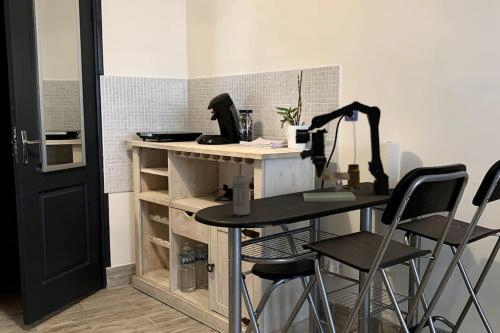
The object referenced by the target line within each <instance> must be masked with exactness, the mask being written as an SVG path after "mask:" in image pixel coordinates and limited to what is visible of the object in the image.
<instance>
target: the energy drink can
mask: <svg viewBox="0 0 500 333" xmlns="http://www.w3.org/2000/svg"><path fill="white" fill-rule="evenodd" d="M250 198H251V197H250V179H249V177H248V174H244V173H243V174H234V175H233V178H232V199H233V200H232V201H233V202H232V204H233V214H234V215H235V214H236V215H248V214H250V213H251V207H250V206H251V205H250V204H251V202H250ZM248 216H249V215H248Z"/></svg>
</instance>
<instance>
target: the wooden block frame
mask: <svg viewBox="0 0 500 333" xmlns="http://www.w3.org/2000/svg"><path fill="white" fill-rule="evenodd" d="M314 180H318V181H322V180H323V181H324V180H325V181H326V180H327V181H328V180H329V181H342V180H343V181H348V180H350V176H349V173H347V171H346V172H342V171H341V172H330V168H328V167H324V169H323V172H322V174H321V177H320V178H318V176H317V171H316V168H315V167H314Z"/></svg>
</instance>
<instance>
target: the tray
mask: <svg viewBox="0 0 500 333" xmlns="http://www.w3.org/2000/svg"><path fill="white" fill-rule="evenodd" d="M303 197H304V198H303V201H304V203H323V202H324V203H325V202H326V203H327V202H356V196H355V195H354V194H353V193H352V192H351V191H349V192H348V191H346V192H345V191H342V192H337V193H336V192H307V193H306V192H303Z"/></svg>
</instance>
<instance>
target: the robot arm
mask: <svg viewBox="0 0 500 333" xmlns="http://www.w3.org/2000/svg"><path fill="white" fill-rule="evenodd" d="M354 111H357V112H359V113H361V114H364V115H366V118H367V122H368V126H369V137H370V152H371V156H370V157H371V158H370V161H367V166H368V168H367V170H368V172H369V173H370V175H371V176H372V177H373V178H374V179H373V182H372V193H373V194H374V195H375V196H377V195H378V196H379V195H391V193H390V180H389V179H390V176H389V175H388V174H387V173H386V172H385V169H384V166H383V161H382V159H381V142H380V132H379V131H380V129H379V127H380V122H381V121H380V120H381V116H382V114H381V113H382V112H381V109H380V107H378V106H375V105H373V106H369V105H367V104H364V103H362V102H359V101H357V100H354V101H353V102H351V103H349V104H346V105H344V106H342V107H340V108H338V109H335V110H332V111H331V112H327V113H322V114H319V115H315V116H313V117H312V118H311V122H310V123H311V124H310V125H309V126H308V129H307V128H305V129H300V128H296V129H295V144H297V145H300V144H301V145H303V144H305V145H306V144H309V142H311V145H310V148H309V149H306V148H305V149H303V150H302V152H299V156H300V157H301V160H302V161H304V160H306V159H307V158H309V157H310V161H311V164H313V165H314V169H315V168H316V171H317V176H318V178H320V177H321V174H322V172H323V169H324V168H325V166H326V165H327V164H326V163H327V162H328V161H327V160H328V159H327V156H326V154H325V148H326V146H325V134H328V133H329V131H328V130H327V129H326V128H325V127H324V126H326V125H327V124H329V123H330V122H332V121H333V120H336V119H337V118H340V117H343V116H345V115H348V114H350V113H352V112H354ZM322 127H323V129H321V128H322ZM315 129H316V131H315V132H314V130H315ZM311 131H313V132H311Z"/></svg>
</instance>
